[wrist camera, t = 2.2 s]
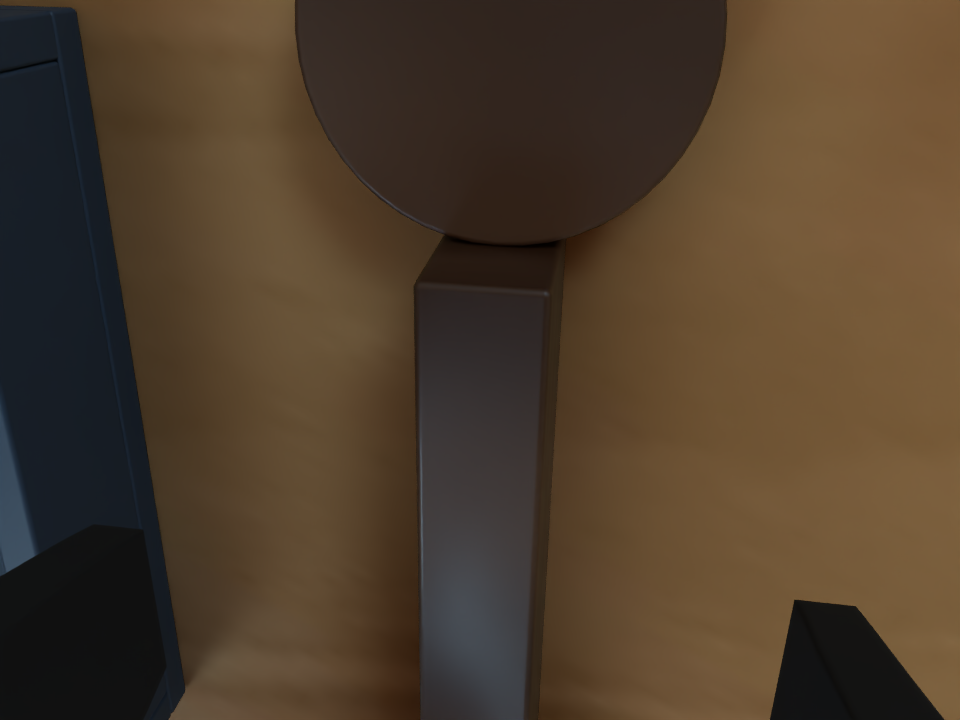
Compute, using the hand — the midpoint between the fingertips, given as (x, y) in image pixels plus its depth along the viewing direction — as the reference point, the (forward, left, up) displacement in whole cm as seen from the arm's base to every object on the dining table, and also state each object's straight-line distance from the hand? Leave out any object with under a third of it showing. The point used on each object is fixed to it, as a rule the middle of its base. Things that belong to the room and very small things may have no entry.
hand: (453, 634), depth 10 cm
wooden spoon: (0, 0, -4) cm, 4 cm away
